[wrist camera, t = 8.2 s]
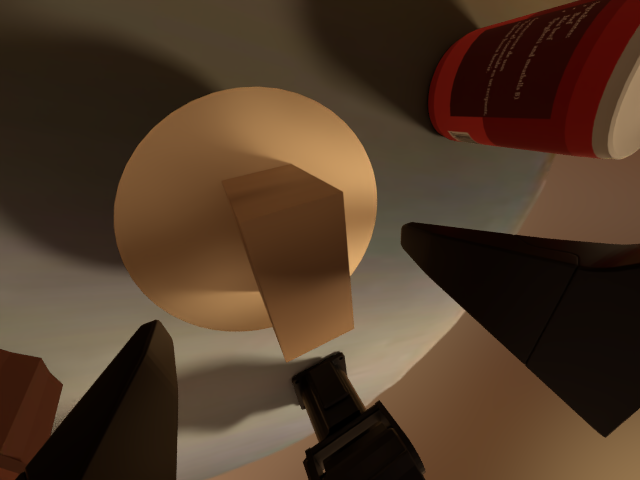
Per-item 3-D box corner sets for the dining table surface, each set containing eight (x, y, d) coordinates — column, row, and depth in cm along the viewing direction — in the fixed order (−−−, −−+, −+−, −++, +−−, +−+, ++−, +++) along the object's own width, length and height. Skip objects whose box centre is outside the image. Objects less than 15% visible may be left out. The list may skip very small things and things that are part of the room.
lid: (368, 273, 18) (428, 329, 13) (191, 350, 14) (192, 463, 9) (363, 72, 11) (474, 48, 7) (37, 114, 8) (-169, 123, 3)
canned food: (492, 118, 23) (677, 124, 14) (427, 155, 22) (589, 187, 13) (500, 15, 19) (773, -68, 10) (420, 53, 17) (656, -5, 9)
